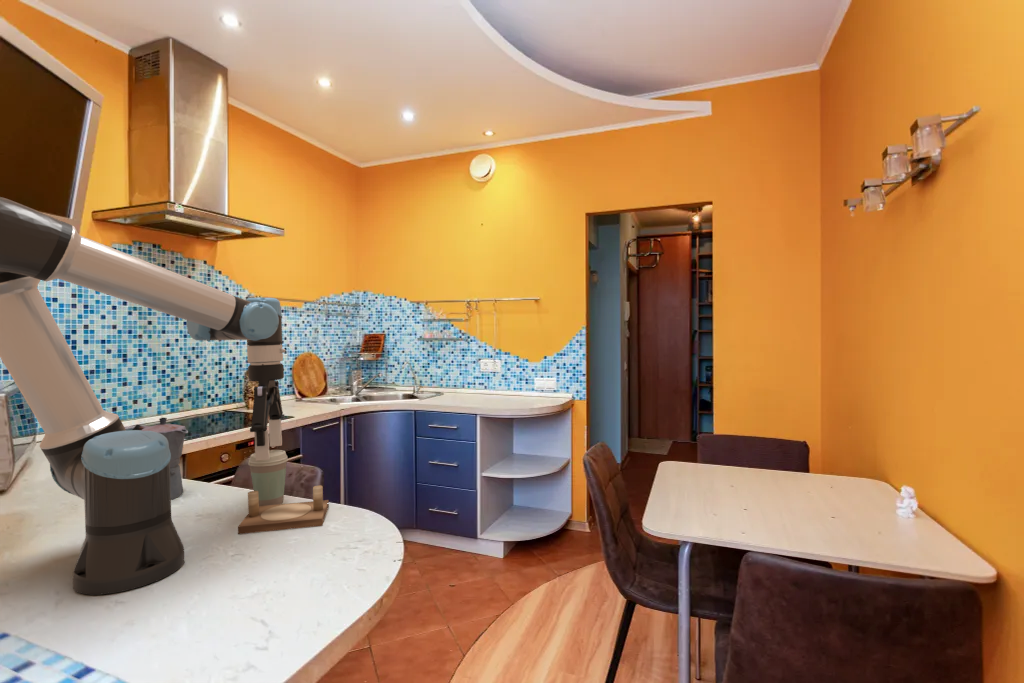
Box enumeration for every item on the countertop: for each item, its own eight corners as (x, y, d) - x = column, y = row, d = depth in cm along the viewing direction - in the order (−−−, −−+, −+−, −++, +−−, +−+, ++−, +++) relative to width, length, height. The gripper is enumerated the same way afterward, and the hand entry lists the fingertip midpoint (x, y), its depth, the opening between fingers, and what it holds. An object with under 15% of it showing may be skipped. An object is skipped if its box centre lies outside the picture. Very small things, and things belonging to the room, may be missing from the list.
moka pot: (177, 503, 120) (174, 420, 120) (114, 504, 121) (111, 421, 120) (202, 490, 130) (200, 414, 129) (144, 491, 130) (141, 414, 130)
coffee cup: (296, 498, 123) (294, 449, 123) (276, 510, 115) (275, 458, 114) (263, 497, 124) (261, 449, 124) (241, 509, 115) (239, 457, 115)
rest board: (322, 525, 105) (321, 494, 105) (238, 534, 101) (237, 502, 101) (328, 506, 117) (328, 478, 117) (253, 513, 113) (252, 484, 113)
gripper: (271, 366, 107) (275, 464, 108) (292, 359, 132) (296, 439, 132) (232, 368, 106) (236, 468, 106) (261, 360, 130) (265, 441, 130)
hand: (269, 452), depth 119 cm, fingers open, 13 cm apart
